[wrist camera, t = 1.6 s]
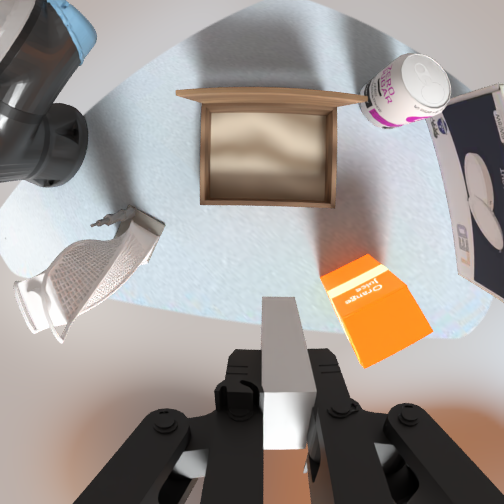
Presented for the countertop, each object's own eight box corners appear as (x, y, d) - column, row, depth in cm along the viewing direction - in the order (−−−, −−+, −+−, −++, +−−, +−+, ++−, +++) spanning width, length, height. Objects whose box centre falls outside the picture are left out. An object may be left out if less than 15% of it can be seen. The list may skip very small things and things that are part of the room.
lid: (335, 107, 35) (367, 101, 23) (203, 103, 35) (175, 95, 24) (335, 103, 35) (367, 96, 23) (203, 99, 35) (175, 90, 23)
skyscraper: (173, 229, 46) (69, 300, 19) (153, 272, 48) (55, 370, 20) (129, 204, 45) (-1, 244, 18) (111, 247, 47) (-7, 317, 20)
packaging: (421, 108, 39) (498, 83, 20) (447, 103, 39) (523, 82, 19) (457, 274, 46) (526, 319, 27) (479, 263, 45) (548, 301, 26)
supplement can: (412, 119, 40) (465, 102, 25) (373, 137, 41) (419, 123, 26) (388, 75, 38) (432, 43, 24) (348, 91, 39) (383, 58, 25)
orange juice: (319, 277, 47) (353, 342, 27) (368, 252, 46) (428, 302, 26) (336, 316, 48) (372, 392, 29) (382, 292, 47) (439, 355, 28)
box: (327, 204, 44) (334, 208, 39) (206, 201, 44) (200, 205, 40) (329, 113, 40) (336, 106, 36) (208, 110, 41) (201, 102, 36)
